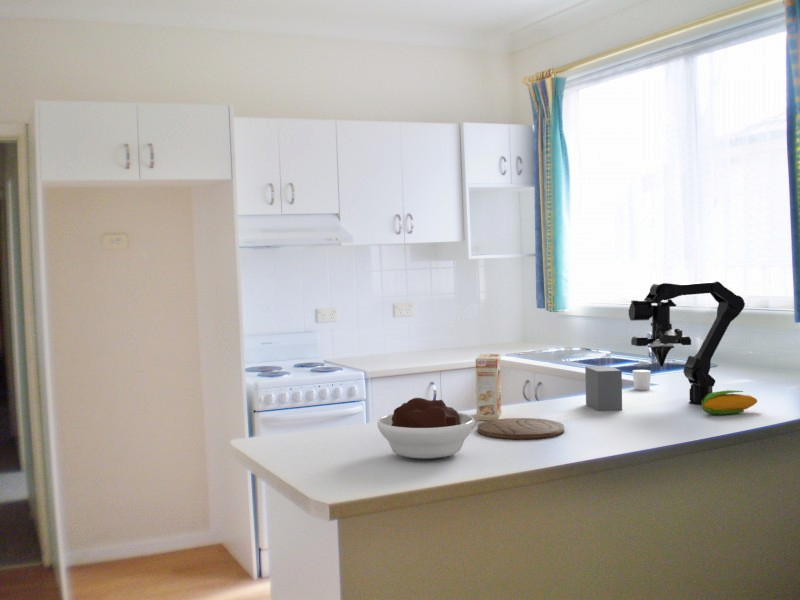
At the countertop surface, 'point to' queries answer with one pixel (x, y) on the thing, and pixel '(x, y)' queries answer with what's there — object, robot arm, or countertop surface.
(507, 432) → the trivet
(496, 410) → the coffeecake box
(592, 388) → the block
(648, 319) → the robot arm
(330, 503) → the countertop surface
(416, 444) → the bowl of chocolate pudding
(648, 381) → the shot glass
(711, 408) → the corn
